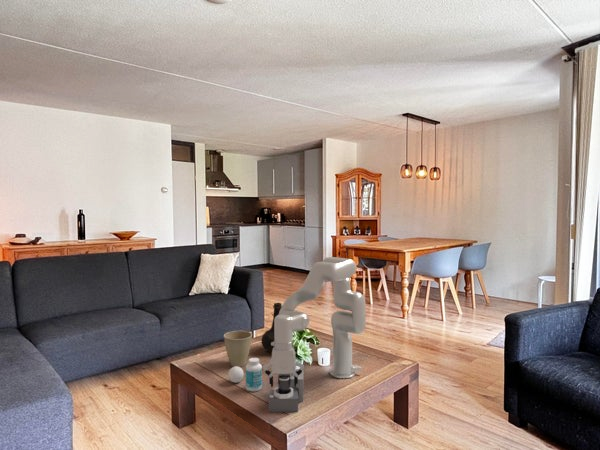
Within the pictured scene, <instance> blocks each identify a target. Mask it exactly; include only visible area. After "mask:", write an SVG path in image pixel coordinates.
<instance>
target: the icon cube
mask: <svg viewBox="0 0 600 450" xmlns="http://www.w3.org/2000/svg"><path fill="white" fill-rule="evenodd" d="M298 370H299V369H296V371H298ZM304 371H305V369H303V371H302V373H301V374H300V375H299V376H298V384H296V387H295V386H294V374H290V387H291V388H293V389H298V403H303V402H304V393H305V391H304V390H305V388H304V387H305V385H304V384H305V379H304V378H305V376H304V375H305V374H304Z"/></svg>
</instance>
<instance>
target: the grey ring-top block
mask: <svg viewBox="0 0 600 450" xmlns="http://www.w3.org/2000/svg"><path fill="white" fill-rule="evenodd" d="M297 412H299V402H298V389H293V388H291V387H290V393H288V394H279V393H278V386H276V387H275V388H274V389H269V394H268V413H297Z"/></svg>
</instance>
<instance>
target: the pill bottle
mask: <svg viewBox="0 0 600 450" xmlns="http://www.w3.org/2000/svg"><path fill="white" fill-rule="evenodd" d="M262 388H263V366H262V364H261V363H260V358H258V357H251V358H249V359H248V363H247V364H246V366H245V389H246V391H249V392H258V391H260V390H261V389H262Z"/></svg>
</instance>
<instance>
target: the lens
mask: <svg viewBox="0 0 600 450" xmlns="http://www.w3.org/2000/svg"><path fill="white" fill-rule="evenodd" d="M277 379H278V380H277V387H278V393H279V394H288V393H290V374H277Z"/></svg>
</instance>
